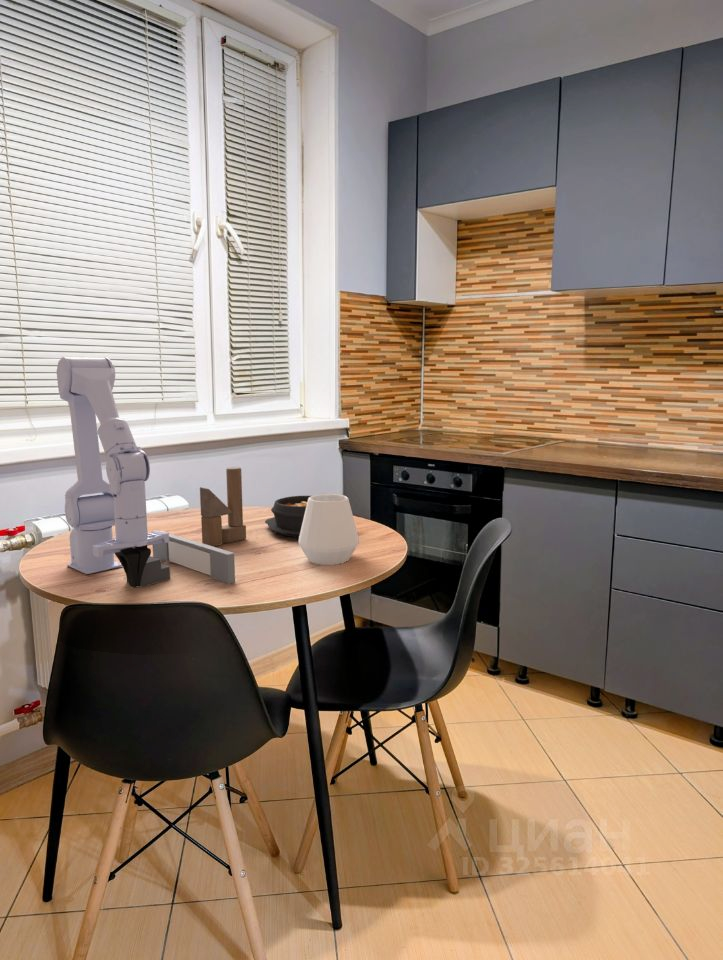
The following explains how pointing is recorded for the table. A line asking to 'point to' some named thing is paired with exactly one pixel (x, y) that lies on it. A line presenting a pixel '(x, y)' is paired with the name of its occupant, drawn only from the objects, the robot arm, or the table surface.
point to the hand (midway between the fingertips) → (134, 585)
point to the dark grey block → (154, 572)
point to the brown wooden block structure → (223, 512)
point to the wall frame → (219, 558)
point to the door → (189, 556)
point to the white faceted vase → (328, 530)
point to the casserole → (288, 515)
